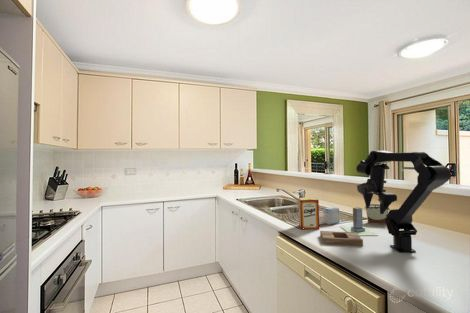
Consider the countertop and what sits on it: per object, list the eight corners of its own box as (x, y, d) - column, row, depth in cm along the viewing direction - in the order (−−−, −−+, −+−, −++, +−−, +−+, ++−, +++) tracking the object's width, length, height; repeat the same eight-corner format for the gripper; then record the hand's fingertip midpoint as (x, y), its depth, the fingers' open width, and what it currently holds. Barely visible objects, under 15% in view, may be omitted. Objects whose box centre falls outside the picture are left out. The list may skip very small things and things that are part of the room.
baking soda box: (301, 229, 123) (300, 199, 123) (298, 225, 130) (298, 197, 130) (319, 229, 122) (318, 199, 122) (316, 225, 129) (315, 197, 129)
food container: (386, 221, 133) (385, 204, 133) (390, 224, 127) (389, 206, 127) (362, 220, 136) (362, 203, 136) (365, 223, 130) (364, 205, 130)
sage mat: (377, 235, 110) (377, 235, 110) (352, 236, 111) (352, 235, 111) (363, 226, 124) (363, 226, 124) (340, 227, 125) (340, 226, 125)
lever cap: (357, 232, 115) (356, 209, 115) (351, 230, 119) (350, 207, 119) (365, 231, 116) (364, 208, 116) (358, 228, 120) (358, 206, 120)
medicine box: (333, 221, 137) (333, 206, 137) (339, 223, 132) (339, 208, 132) (323, 222, 134) (322, 207, 134) (328, 224, 130) (328, 209, 130)
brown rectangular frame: (362, 246, 99) (362, 240, 99) (323, 243, 102) (323, 238, 102) (356, 237, 109) (356, 232, 109) (320, 236, 112) (320, 230, 112)
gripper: (348, 174, 114) (346, 204, 116) (375, 181, 96) (372, 218, 97) (369, 174, 116) (366, 204, 117) (399, 181, 97) (396, 217, 99)
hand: (374, 210), depth 108 cm, fingers open, 9 cm apart
